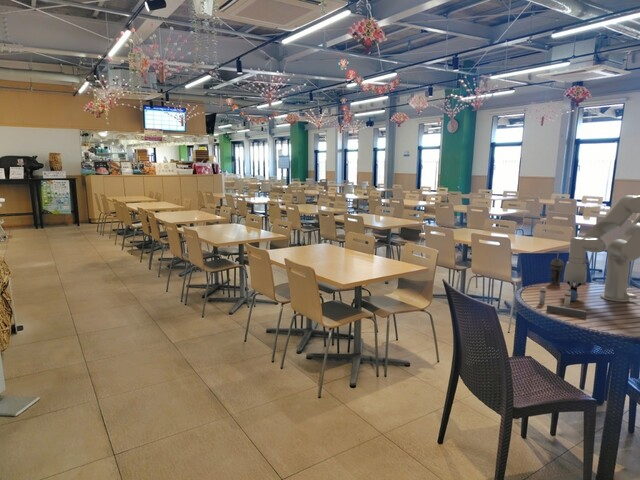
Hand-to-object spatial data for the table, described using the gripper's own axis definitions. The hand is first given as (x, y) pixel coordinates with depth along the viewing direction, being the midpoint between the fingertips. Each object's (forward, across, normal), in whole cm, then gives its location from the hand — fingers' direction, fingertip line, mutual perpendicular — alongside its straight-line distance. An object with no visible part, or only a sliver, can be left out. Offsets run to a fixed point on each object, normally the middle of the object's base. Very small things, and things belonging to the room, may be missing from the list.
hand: (573, 294), depth 230 cm
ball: (-2, 0, +9) cm, 10 cm away
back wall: (+2, -1, +35) cm, 35 cm away
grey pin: (+2, +11, +24) cm, 27 cm away
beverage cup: (+2, +12, -24) cm, 27 cm away
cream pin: (+2, 0, +24) cm, 24 cm away
